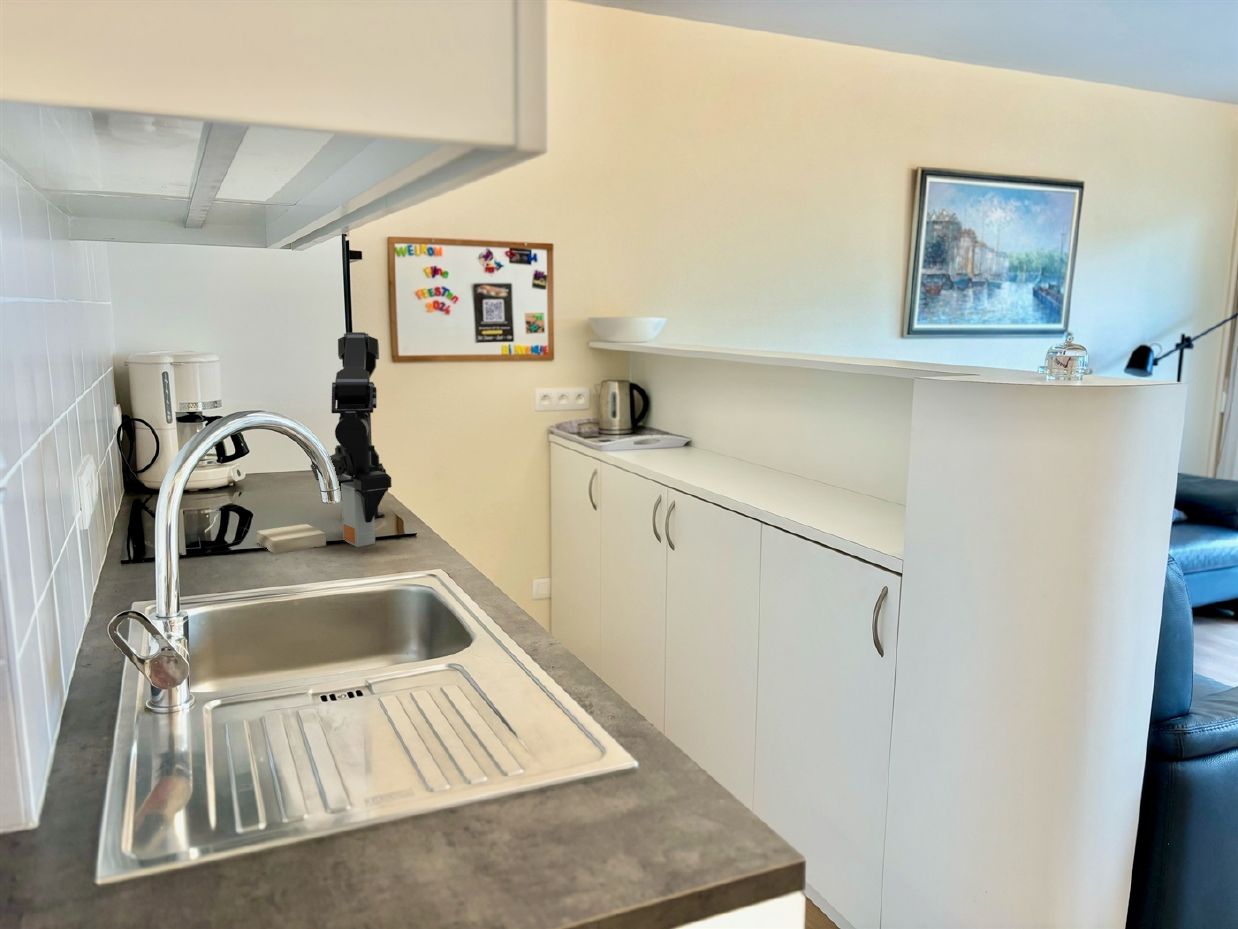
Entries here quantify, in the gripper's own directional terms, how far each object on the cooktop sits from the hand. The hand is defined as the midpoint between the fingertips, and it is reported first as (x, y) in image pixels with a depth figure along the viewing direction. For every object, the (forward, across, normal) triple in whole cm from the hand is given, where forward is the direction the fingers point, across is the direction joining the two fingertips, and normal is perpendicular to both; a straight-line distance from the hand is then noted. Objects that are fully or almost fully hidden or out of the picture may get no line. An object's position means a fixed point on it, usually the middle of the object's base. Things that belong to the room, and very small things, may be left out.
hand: (358, 518), depth 179 cm
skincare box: (+5, 0, 0) cm, 5 cm away
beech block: (+6, -7, -11) cm, 14 cm away
